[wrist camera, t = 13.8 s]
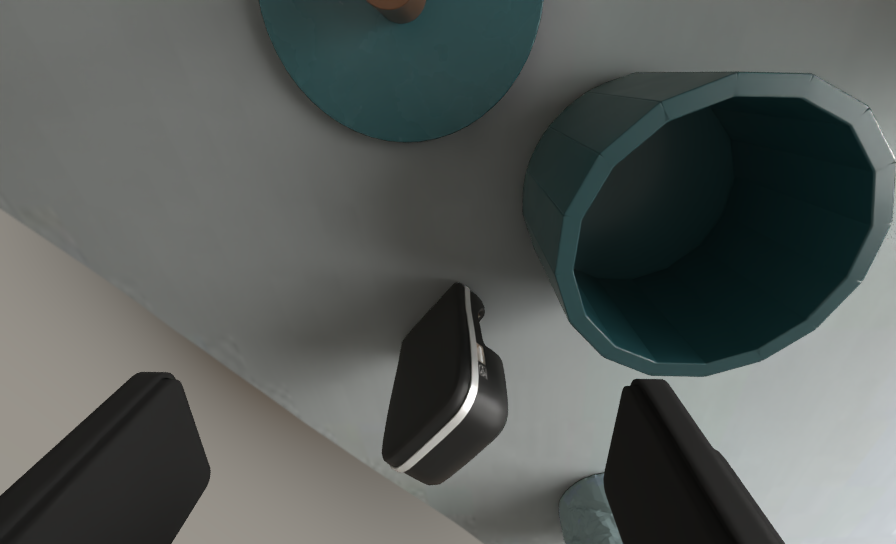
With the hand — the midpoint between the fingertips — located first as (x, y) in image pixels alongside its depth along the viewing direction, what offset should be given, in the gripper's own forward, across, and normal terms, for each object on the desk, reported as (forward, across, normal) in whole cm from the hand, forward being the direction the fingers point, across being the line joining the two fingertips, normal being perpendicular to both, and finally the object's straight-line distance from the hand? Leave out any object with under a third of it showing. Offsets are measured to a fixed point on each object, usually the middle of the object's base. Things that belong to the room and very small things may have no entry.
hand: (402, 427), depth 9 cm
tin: (+19, -12, -1) cm, 22 cm away
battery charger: (+19, 0, +9) cm, 21 cm away
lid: (+18, +2, -11) cm, 21 cm away
